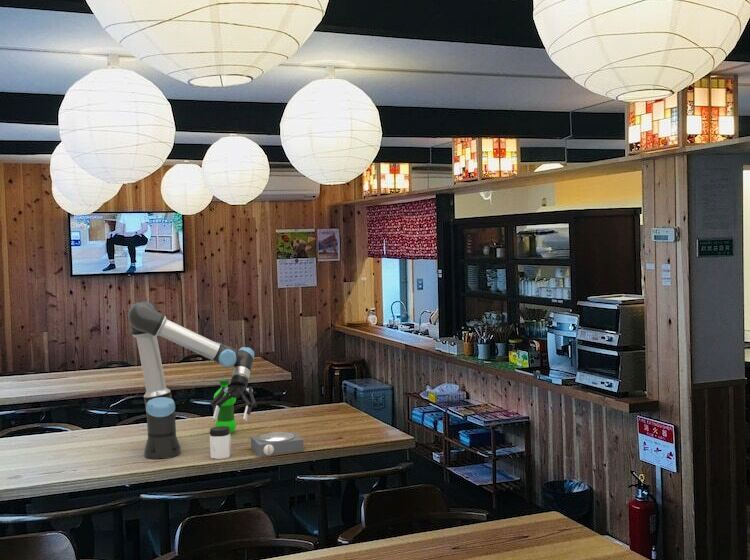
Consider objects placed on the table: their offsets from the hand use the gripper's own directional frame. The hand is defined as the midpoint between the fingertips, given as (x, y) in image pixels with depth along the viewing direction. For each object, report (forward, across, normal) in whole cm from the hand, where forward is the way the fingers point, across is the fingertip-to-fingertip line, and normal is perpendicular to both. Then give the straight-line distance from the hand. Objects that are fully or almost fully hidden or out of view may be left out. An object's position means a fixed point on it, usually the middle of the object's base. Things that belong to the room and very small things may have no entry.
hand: (229, 420), depth 347 cm
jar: (+16, +1, -3) cm, 16 cm away
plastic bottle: (-12, +14, -32) cm, 37 cm away
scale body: (+7, -19, -12) cm, 24 cm away
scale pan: (+3, -19, -9) cm, 21 cm away
